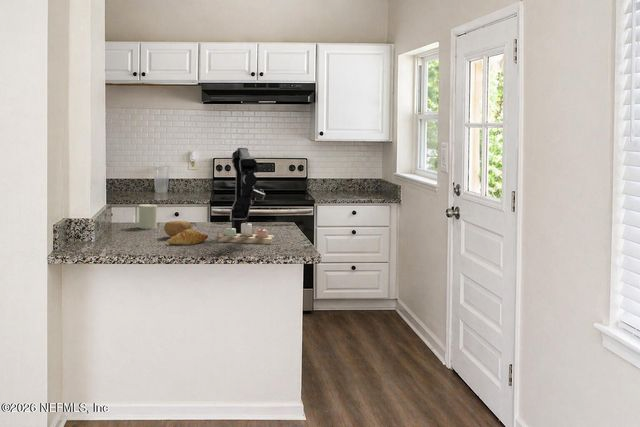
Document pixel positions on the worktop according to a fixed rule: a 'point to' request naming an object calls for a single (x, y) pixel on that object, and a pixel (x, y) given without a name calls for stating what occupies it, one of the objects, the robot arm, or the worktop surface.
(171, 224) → the potato
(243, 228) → the key two
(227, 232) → the key one
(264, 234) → the key three
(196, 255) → the worktop surface
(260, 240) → the board
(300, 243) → the worktop surface
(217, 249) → the worktop surface
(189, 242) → the croissant
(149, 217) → the can
